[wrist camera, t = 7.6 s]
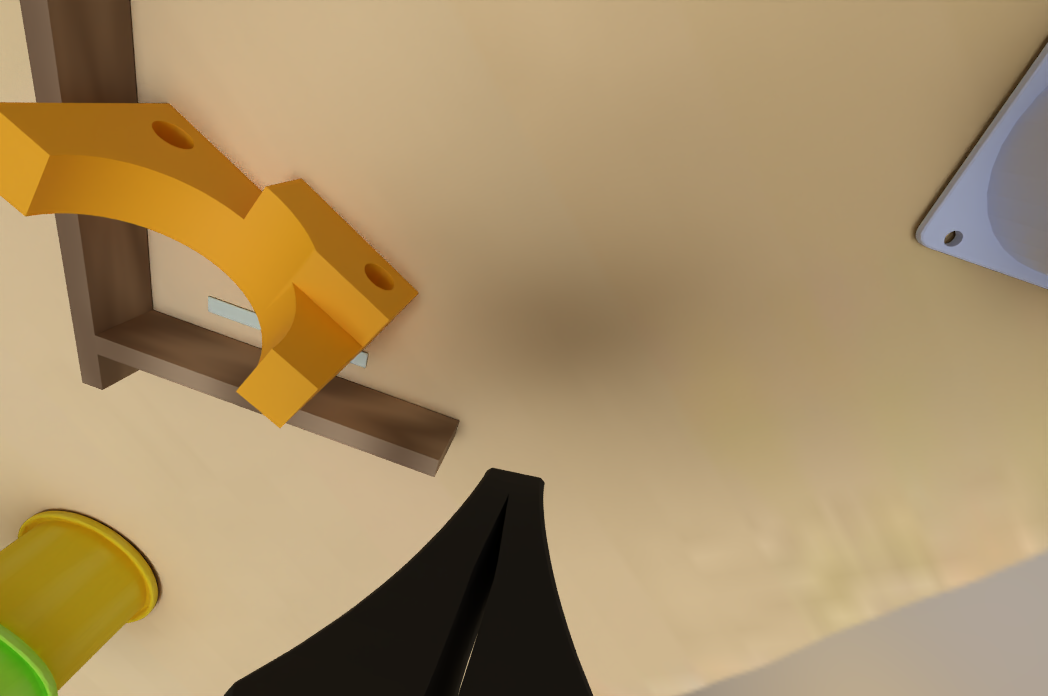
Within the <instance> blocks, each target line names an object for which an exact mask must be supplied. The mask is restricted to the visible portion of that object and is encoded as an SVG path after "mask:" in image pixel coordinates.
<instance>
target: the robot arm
mask: <svg viewBox="0 0 1048 696" xmlns="http://www.w3.org/2000/svg"><path fill="white" fill-rule="evenodd" d="M952 231H955V233H956V235H955V238H954V239H953V240H952V241H951V242H949V243H946V244H945V243H944V239H945V236H946V235H947V234H949V233H950V232H952ZM916 239H917V241H918V242H919V243H920V244H922V245H924V246H926V247H928V248H931V249H934V250H936V251H939V252H942V253H945V254H948V255H951V256H954V257H957V258H959V259H962V260H965V261H968V262H971V263H974V264H977V265H980V266H982V267H985V268H988V269H991V270H994V271H997V272H1000V273H1003V274H1005V275H1008V276H1011V277H1014V278H1017V279H1020V280H1023V281H1026V282H1028V283H1031V284H1034V285H1037V286H1040V287H1043V288H1046V289H1048V43H1047V44H1046V46H1045V47H1044V48H1043V50H1042V51H1041V53H1040V54H1039V55H1038V57H1037V58H1036V60H1035V61H1034V63H1033V64H1032V65H1031V67H1030V68H1029V70H1028V71H1027V73H1026V74H1025V75H1024V77H1023V78H1022V80H1021V81H1020V83H1019V84H1018V85H1017V87H1016V88H1015V90H1014V91H1013V93H1012V94H1011V95H1010V97H1009V98H1008V100H1007V101H1006V103H1005V104H1004V105H1003V107H1002V108H1001V110H1000V111H999V113H998V114H997V115H996V117H995V118H994V120H993V121H992V123H991V124H990V125H989V127H988V128H987V130H986V131H985V133H984V134H983V135H982V137H981V138H980V140H979V141H978V143H977V144H976V145H975V147H974V148H973V150H972V151H971V153H970V154H969V155H968V157H967V158H966V160H965V161H964V163H963V164H962V165H961V167H960V168H959V170H958V171H957V173H956V174H955V175H954V177H953V178H952V180H951V181H950V183H949V184H948V185H947V187H946V188H945V190H944V191H943V193H942V194H941V195H940V197H939V198H938V200H937V201H936V202H935V204H934V205H933V207H932V208H931V210H930V211H929V212H928V214H927V215H926V217H925V218H924V220H923V221H922V222H921V224H920V225H919V227H918V229H917V231H916ZM543 491H544V481H543V480H542V479H541V478H539V477H534V476H529V475H524V474H520V473H515V472H510V471H505V470H500V469H496V468H491V469H489V470H487V472H486V473H485V475H484V477H483V478H482V480H481V481H480V482H479V484H478V485H477V487H476V488H475V489H474V491H473V492H472V493H471V495H470V496H469V497H468V498H467V500H466V501H465V502H464V503H463V505H462V506H461V507H460V508H459V509H458V511H457V512H456V513H455V514H454V515H453V516H452V517H451V519H450V520H449V521H448V522H447V523H446V524H445V525H444V527H443V528H442V529H441V530H440V531H439V532H438V533H437V534H436V535H435V536H434V537H433V538H432V539H431V540H430V541H429V542H428V543H427V544H426V545H425V546H424V547H423V548H422V549H421V550H420V551H419V552H418V553H417V554H416V555H415V556H414V557H413V558H412V559H411V560H410V561H409V562H408V563H407V564H405V565H404V566H403V567H402V568H401V569H400V570H399V571H398V572H396V573H395V574H394V575H393V576H392V577H391V578H390V579H388V580H387V581H386V582H385V583H384V584H382V585H381V586H380V587H379V588H377V589H376V590H375V591H374V592H372V593H371V594H370V595H369V596H367V597H366V598H365V599H364V600H362V601H361V602H360V603H358V604H357V605H356V606H354V607H353V608H352V609H350V610H349V611H348V612H346V613H345V614H344V615H342V616H341V617H339V618H338V619H336V620H335V621H333V622H332V623H331V624H329V625H328V626H326V627H325V628H323V629H322V630H320V631H319V632H317V633H316V634H314V635H313V636H311V637H310V638H308V639H307V640H305V641H304V642H302V643H301V644H299V645H298V646H296V647H295V648H293V649H291V650H290V651H288V652H286V653H285V654H283V655H281V656H280V657H278V658H276V659H274V660H273V661H271V662H269V663H268V664H266V665H264V666H262V667H261V668H259V669H257V670H256V671H254V672H252V673H251V674H249V675H247V676H245V677H244V678H242V679H240V680H238V681H237V682H235V683H234V684H233V685H232V686H231V688H230V689H229V690H228V691H227V692H226V693H225V695H224V696H593V694H592V691H591V689H590V686H589V684H588V681H587V679H586V676H585V674H584V671H583V669H582V666H581V663H580V661H579V658H578V656H577V653H576V650H575V647H574V644H573V641H572V638H571V635H570V632H569V629H568V626H567V623H566V619H565V616H564V613H563V610H562V606H561V602H560V599H559V595H558V591H557V587H556V583H555V579H554V574H553V570H552V565H551V560H550V555H549V549H548V543H547V537H546V530H545V521H544V509H543ZM476 637H477V638H476ZM475 639H476V641H475ZM474 642H475V644H474ZM473 645H474V647H473ZM472 648H473V651H472ZM471 651H472V654H471ZM470 654H471V657H470ZM469 657H470V660H469ZM468 660H469V663H468ZM467 663H468V666H467ZM466 666H467V669H466ZM465 669H466V673H465V676H464V672H465ZM463 676H464V679H463ZM462 679H463V682H462ZM461 682H462V685H461ZM460 686H461V688H460ZM459 689H460V691H459ZM458 693H459V694H458Z"/></svg>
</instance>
